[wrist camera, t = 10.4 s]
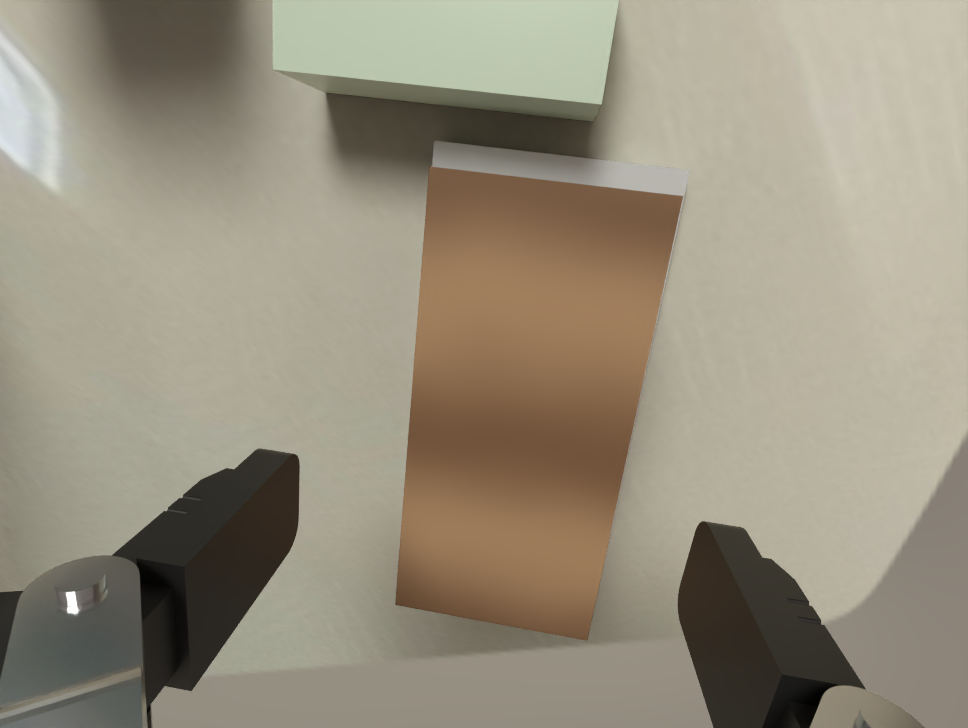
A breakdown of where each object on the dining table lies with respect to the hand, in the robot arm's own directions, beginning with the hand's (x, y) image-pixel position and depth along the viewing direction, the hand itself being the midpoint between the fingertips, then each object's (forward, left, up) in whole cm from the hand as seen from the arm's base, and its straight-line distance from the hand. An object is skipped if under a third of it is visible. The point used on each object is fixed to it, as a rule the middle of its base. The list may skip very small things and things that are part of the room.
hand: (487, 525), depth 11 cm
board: (0, 0, -7) cm, 7 cm away
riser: (-4, +11, -12) cm, 17 cm away
